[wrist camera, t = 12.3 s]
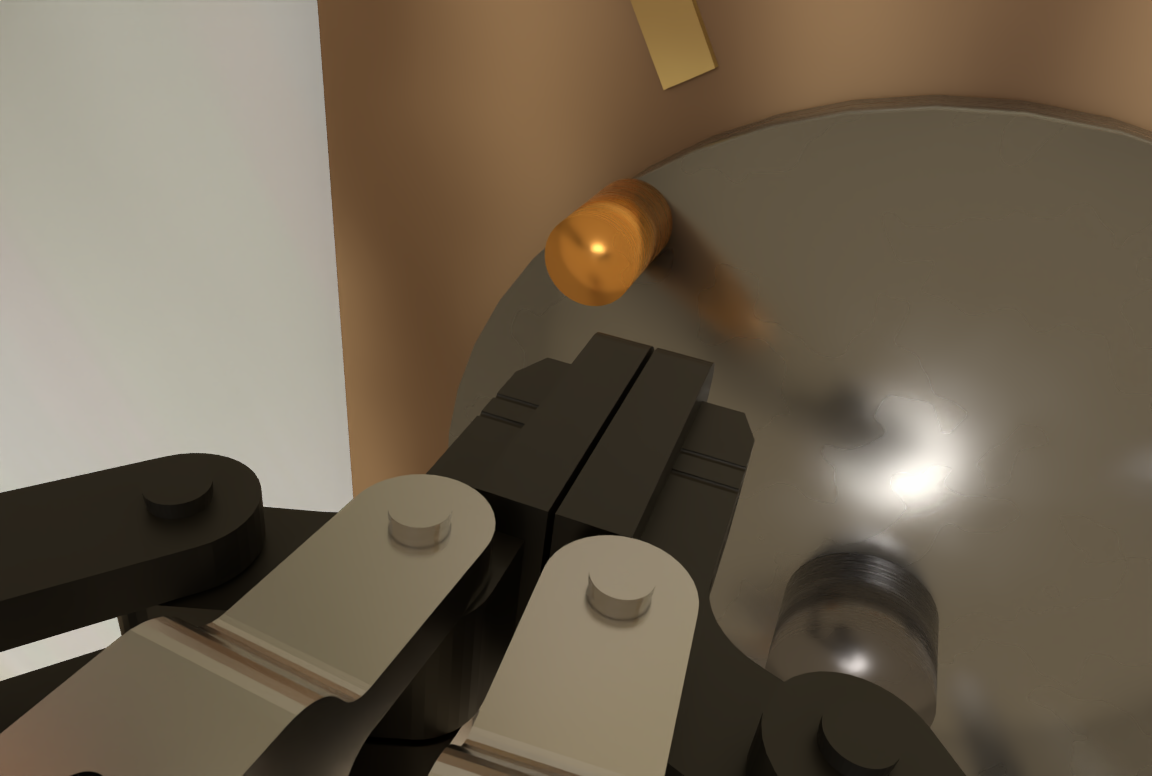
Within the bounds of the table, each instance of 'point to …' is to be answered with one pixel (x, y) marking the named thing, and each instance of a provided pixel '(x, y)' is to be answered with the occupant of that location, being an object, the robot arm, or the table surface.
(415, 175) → the stand
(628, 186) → the round metal platter
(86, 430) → the table surface
